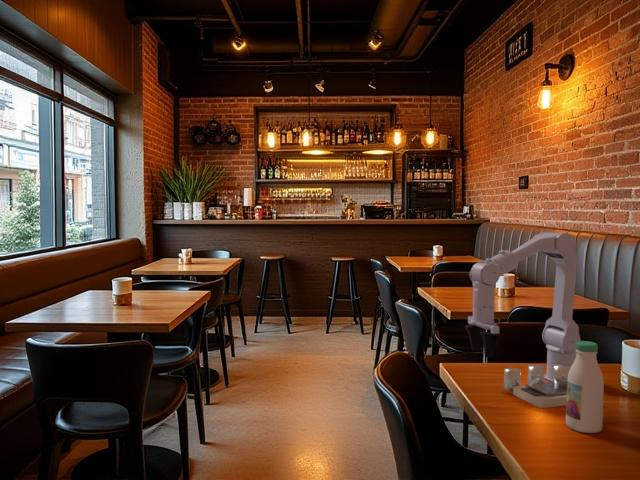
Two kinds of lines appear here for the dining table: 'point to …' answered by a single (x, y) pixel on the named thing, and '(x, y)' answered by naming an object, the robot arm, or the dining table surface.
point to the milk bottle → (585, 390)
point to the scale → (539, 397)
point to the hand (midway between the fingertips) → (482, 353)
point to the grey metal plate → (546, 388)
